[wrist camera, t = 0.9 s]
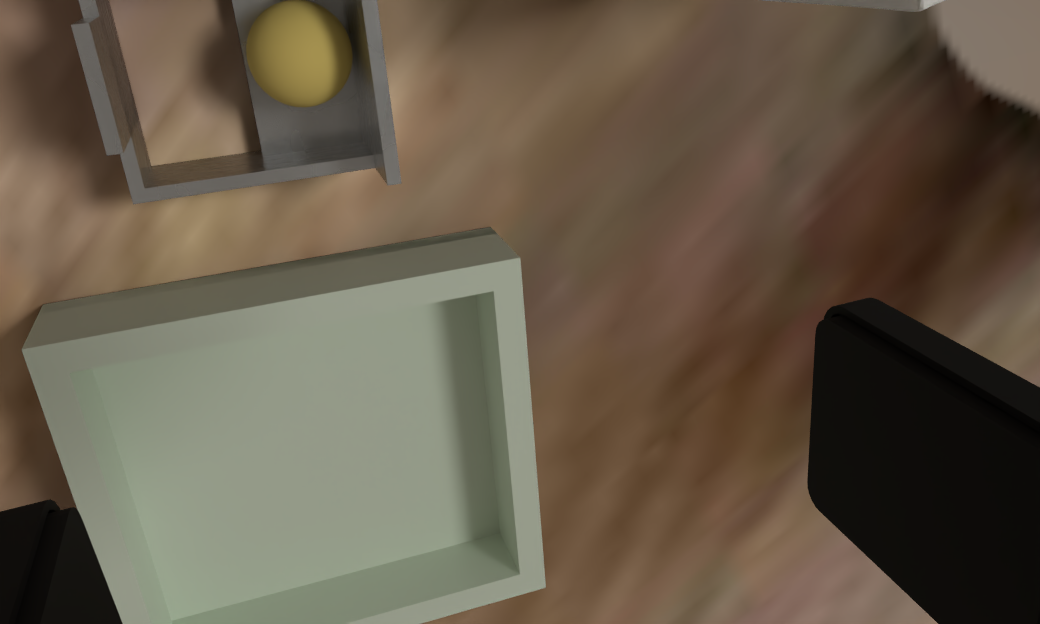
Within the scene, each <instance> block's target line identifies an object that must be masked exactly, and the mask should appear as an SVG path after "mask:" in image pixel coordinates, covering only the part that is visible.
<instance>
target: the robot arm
mask: <svg viewBox="0 0 1040 624" xmlns="http://www.w3.org/2000/svg"><path fill="white" fill-rule="evenodd" d="M808 490H809V494H810V497H811V499H812V501H813V503H814V505H815V506H816V508H817V509H818V510H819V511H820V512H821V513H822V514H823V515H824V516H825V517H826V518H827V519H828V520H829V521H830V522H832V523H833V524H834V525H835V526H836V527H837V528H838V529H839V530H840V531H841V532H842V533H843V534H844V535H845V536H846V537H847V538H848V539H849V540H851V541H852V542H853V543H854V544H855V545H856V546H857V547H858V548H859V549H860V550H861V551H862V552H863V553H864V554H865V555H866V556H867V557H869V558H870V559H871V560H872V561H873V562H874V563H875V564H876V565H877V566H878V567H879V568H880V569H881V570H882V571H883V572H884V573H885V574H886V575H888V576H889V577H890V578H891V579H892V580H893V581H894V582H895V583H896V584H897V585H898V586H899V587H900V588H901V589H902V590H903V591H904V592H905V593H907V594H908V595H909V596H910V597H911V598H912V599H913V600H914V601H915V602H916V603H917V604H918V605H919V606H920V607H921V608H922V609H923V610H925V611H926V612H927V613H928V614H929V615H930V616H931V617H932V618H933V619H934V620H935V621H936V622H937V623H938V624H1040V387H1038V386H1036V385H1034V384H1032V383H1030V382H1029V381H1027V380H1025V379H1023V378H1021V377H1019V376H1017V375H1016V374H1014V373H1012V372H1010V371H1008V370H1006V369H1005V368H1003V367H1001V366H999V365H997V364H995V363H994V362H992V361H990V360H988V359H986V358H984V357H983V356H981V355H979V354H977V353H975V352H973V351H971V350H970V349H968V348H966V347H964V346H962V345H960V344H959V343H957V342H955V341H953V340H951V339H949V338H948V337H946V336H944V335H942V334H940V333H938V332H936V331H935V330H933V329H931V328H929V327H927V326H925V325H924V324H922V323H920V322H918V321H916V320H914V319H913V318H911V317H909V316H907V315H905V314H903V313H902V312H900V311H898V310H896V309H894V308H892V307H890V306H889V305H887V304H885V303H883V302H881V301H879V300H877V299H874V298H866V299H862V300H857V301H853V302H849V303H845V304H841V305H837V306H833V307H831V308H830V309H829V310H828V311H827V312H826V314H825V316H824V320H822V321H820V322H819V324H818V325H817V328H816V334H815V353H814V371H813V389H812V408H811V426H810V445H809V463H808ZM0 624H123V623H122V621H121V618H120V615H119V613H118V610H117V608H116V605H115V603H114V600H113V597H112V595H111V592H110V590H109V587H108V584H107V582H106V579H105V577H104V574H103V571H102V569H101V566H100V564H99V561H98V559H97V556H96V553H95V551H94V548H93V546H92V543H91V540H90V538H89V535H88V533H87V530H86V527H85V525H84V522H83V520H82V517H81V515H80V513H79V512H78V510H77V509H76V508H74V507H72V508H68V509H64V510H60V508H59V507H58V505H57V504H56V503H55V502H54V501H52V500H46V501H42V502H38V503H34V504H29V505H25V506H21V507H17V508H13V509H9V510H5V511H1V512H0Z"/></svg>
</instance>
